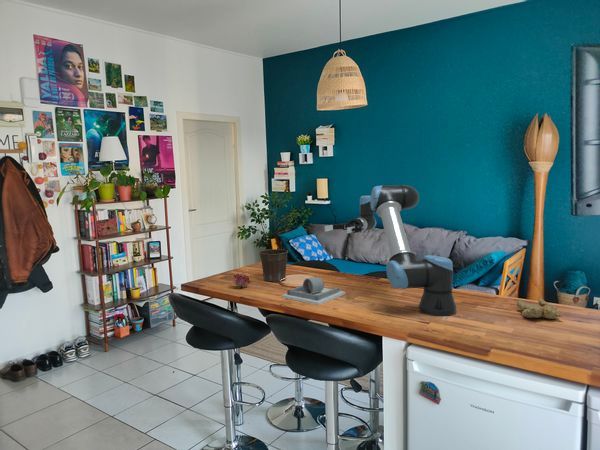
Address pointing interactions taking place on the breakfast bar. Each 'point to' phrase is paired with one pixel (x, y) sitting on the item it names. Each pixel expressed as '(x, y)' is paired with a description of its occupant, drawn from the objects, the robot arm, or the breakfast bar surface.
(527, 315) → the ginger root
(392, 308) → the breakfast bar surface
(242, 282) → the flower
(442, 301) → the robot arm
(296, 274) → the breakfast bar surface
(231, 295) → the breakfast bar surface
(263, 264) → the plant pot
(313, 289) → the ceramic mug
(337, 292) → the tray
